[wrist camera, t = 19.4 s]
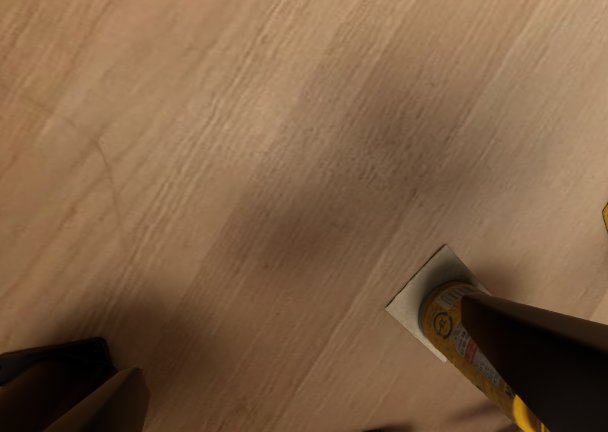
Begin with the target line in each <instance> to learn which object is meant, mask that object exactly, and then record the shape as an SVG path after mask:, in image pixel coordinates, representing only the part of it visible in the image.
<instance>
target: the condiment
mask: <svg viewBox="0 0 608 432" xmlns="http://www.w3.org/2000/svg"><path fill="white" fill-rule="evenodd" d="M475 292H477V293H481V294H485V295H489V296H492V295H491V294H490V293H489V292H488V291H487V290H486V288H485V287H484V286H483V285H482V284H481V283H480V282H479V281H478V280H477V279H476V277H475V276H474V275H473V274H472V273H471V271H470V270H469V269H468V268H467V267H466V266H465V265H464V264H463V263H462V262H461V261H460V259H459V258H458V257H457V256H456V255H455V253H454V252H453V251H452V250H451V249H450V248H449V247H448V246H447V245H445V246H444V247H443V248H442V249H441V250H440V251H439V252H438V253H436V254H435V256H434V257H433V258H432V259H431V260H430V261H429V262H428V263H427V264H426V265H425V266H424V267H423V268H422V269H421V270H420V271H419V272H418V273H417V274H416V276H415V277H414V278H413V279H412V280H410V281H409V282H408V284H407V285H406V287H405V288H404V289H403V290H402V291H401V292H400V293H399V294H398V295H397V296H396V297H395V299H394V300H393V301H392V302H391V303H390V305H389V306H388V307H387V308H386V309H385V310H386V311H388V312H389V313H390V314H391V315H392V316H393V317H394V318H395V319H396V320H397V321H399V322H400V323H401V324H402V325H403V326H404V327H405V328H406V329H407V330H408V331H410V332H411V333H412V334H413V335H414V336H415V337H416V338H417V339H418V340H420V341H421V342H422V343H423V344H424V345H425V346H426V347H427V348H428V349H429V350H431V351H432V352H433V353H434V354H435V355H436V356H437V357H438V358H439V359H440V360H442V361H443V362H444V363H445V362H446V361H447V360H449V361H450V362H451V363H452V364H453V365H454V366H455V367H456V368H458V369H459V370H460V371H461V373H462V374H463V375H464V376H465V377H466V378H467V379H468V380H470V381H471V382H472V384H474V385H475V386H476V387H477V388H478V389H479V390H481V391H482V392H483V393H484V394H485V395H486V396H487V397H488V398H489V399H490V400H491V401H492V402H493V403H494V404H495V405H496V406H497V407H498V408H500V410H501V411H502V412H504V413H505V414H506V416H507V417H508V418H509V419H510V420H512V422H513V423H515V424H516V425H517V426H519V427H520V428H521V429H522V430H523V431H525V432H550V431H549V430H548V429H547V428H546V427H545V426H544V425H543V424H542V422H541V421H540V420H539V419H538V418H537V417H536V416H535V415H534V414H533V412H532V411H531V410H530V409H529V408H528V407H527V406H526V405H525V404H524V402H523V401H522V400H521V399H520V398H519V397H518V396H517V395H516V393H515V392H514V391H513V390H512V389H511V388H510V387H509V386H508V385H507V383H506V382H505V381H504V380H503V379H502V378H501V376H500V375H499V374H498V373H497V371H496V370H495V369H494V368H493V366H492V365H491V364H490V362H489V361H488V360H487V358H486V357H485V356H484V354H483V353H482V352H481V350H480V349H479V348H478V346H477V345H476V344H475V342H474V341H473V340H472V338H471V337H470V336H469V335H468V333H467V332H466V331H465V329H464V327H463V326H462V323H461V297H462V296H463V295H465V294H470V293H475Z"/></svg>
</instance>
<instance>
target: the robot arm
mask: <svg viewBox="0 0 608 432" xmlns="http://www.w3.org/2000/svg"><path fill="white" fill-rule="evenodd" d="M461 323H462V326H463V327H464V329H465V331H466V332H467V333H468V335H469V336H470V337H471V338H472V340H473V341H474V342H475V344H476V345H477V346H478V348H479V349H480V350H481V352H482V353H483V354H484V356H485V357H486V358H487V360H488V361H489V362H490V364H491V365H492V366H493V368H494V369H495V370H496V371H497V373H498V374H499V375H500V376H501V378H502V379H503V380H504V381H505V382H506V383H507V385H508V386H509V387H510V388H511V389H512V390H513V391H514V392H515V393H516V395H517V396H518V397H519V398H520V399H521V400H522V401H523V402H524V404H525V405H526V406H527V407H528V408H529V409H530V410H531V411H532V412H533V414H534V415H535V416H536V417H537V418H538V419H539V420H540V421H541V422H542V424H543V425H544V426H545V427H546V428H547V429H548V430H549V431H550V432H608V325H605V324H601V323H597V322H593V321H589V320H585V319H581V318H577V317H573V316H569V315H565V314H561V313H557V312H553V311H549V310H545V309H541V308H537V307H533V306H529V305H525V304H521V303H517V302H513V301H509V300H505V299H501V298H497V297H493V296H489V295H485V294H481V293H477V292H475V293H470V294H465V295H463V296H462V297H461ZM94 344H98V345H99V346H100V347H96V346H95V345H94ZM0 364H1V365H2V366H0V432H142V430H143V426H144V421H145V417H146V413H147V409H148V405H149V400H150V394H149V390H148V387H147V384H146V381H145V378H144V375H143V372H142V370H141V368H139V367H133V368H128V369H124V370H121V371H120V372H118V373H117V370H116V367H115V366H114V365H113V364H112V361H111V357H110V353H109V349H108V345H107V342H106V340H105V339H104V338H101V337H95V338H90V339H85V340H80V341H74V342H69V343H64V344H59V345H53V346H48V347H43V348H38V349H32V350H27V351H22V352H17V353H12V354H6V355H1V356H0Z"/></svg>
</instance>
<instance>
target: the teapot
mask: <svg viewBox="0 0 608 432" xmlns="http://www.w3.org/2000/svg"><path fill="white" fill-rule="evenodd" d="M603 216H604V220H605V223H606V227H607V230H608V205H607V206H606V207H605V209H604V211H603Z"/></svg>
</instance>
